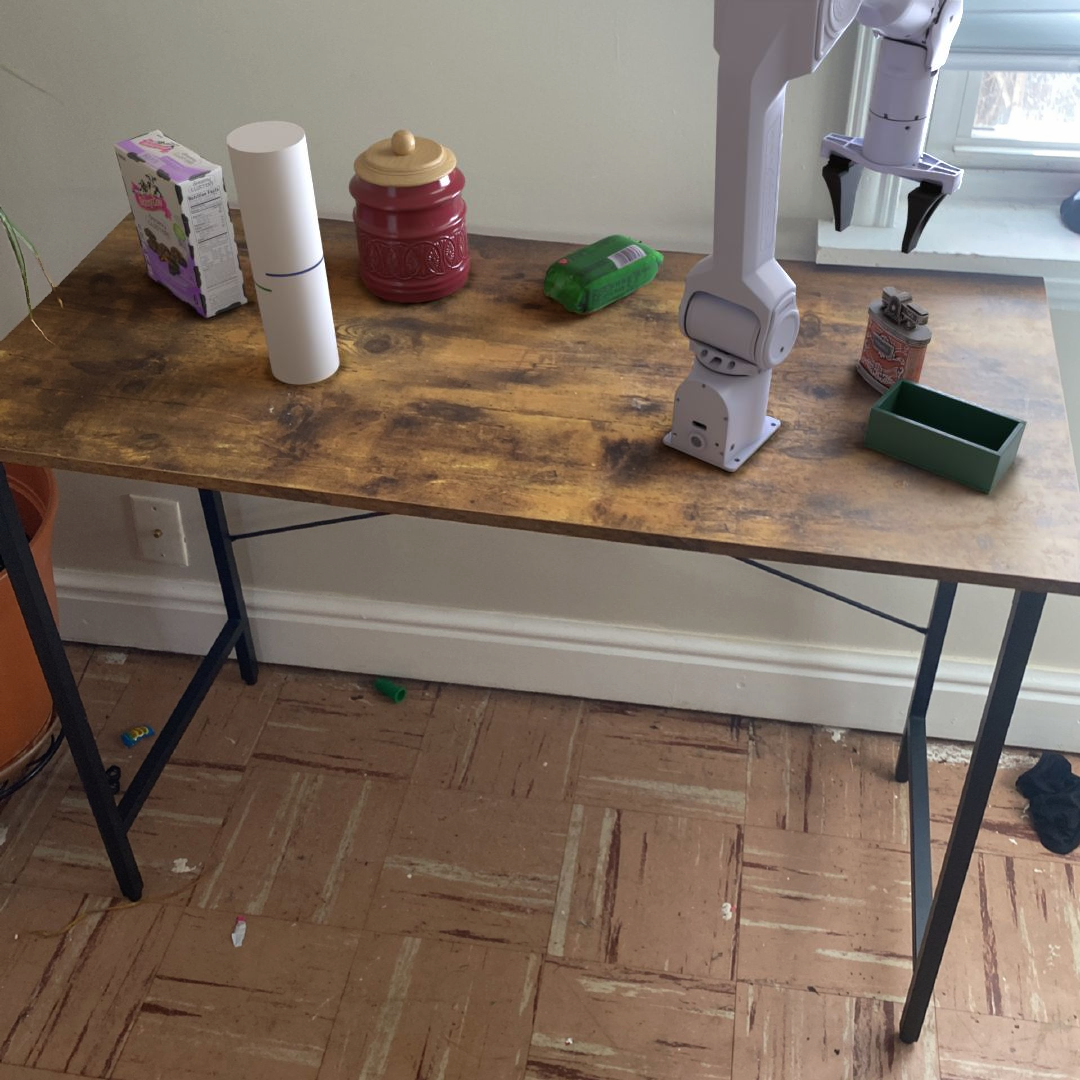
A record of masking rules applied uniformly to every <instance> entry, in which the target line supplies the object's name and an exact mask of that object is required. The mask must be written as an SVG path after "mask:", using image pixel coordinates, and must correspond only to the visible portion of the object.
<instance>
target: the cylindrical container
mask: <svg viewBox="0 0 1080 1080" xmlns="http://www.w3.org/2000/svg"><path fill="white" fill-rule="evenodd" d="M226 146H227V150H228V155H229V160H230V165H231V171H232V176H233V181H234V186H235V192H236V197H237V202H238V206H239V211H240V217H241V222H242V227H243V232H244V238H245V243H246V247H247V248H246V249H247V253H248V258H249V262H250V267H251V273H252V278H253V283H254V287H255V293H256V298H257V303H258V308H259V313H260V318H261V319H260V320H261V323H262V328H263V332H264V333H263V334H264V338H265V343H266V347H267V348H266V349H267V354H268V359H269V363H270V369H271V372H272V375H273V376H274V377H275V379H277V380H278V381H280V382H282V383H285V384H289V385H298V386H299V385H311V384H316V383H318V382H322V381H324V380H326V379H328V378H330V377H331V376H333V375H334V374H335V373H336V372H337V371H338V369H339V367H340V357H339V350H338V345H337V344H338V343H337V337H336V331H335V325H334V324H335V323H334V317H333V312H332V311H333V310H332V304H331V298H330V289H329V284H328V277H327V270H326V264H325V258H324V251H323V244H322V238H321V231H320V230H321V229H320V223H319V217H318V211H317V204H316V198H315V192H314V185H313V178H312V172H311V171H312V170H311V164H310V158H309V151H308V144H307V138H306V131H305V130H304V128H303V127H301V126H300V125H298V124H296V123H294V122H289V121H282V120H264V121H256V122H252V123H247V124H244V125H241V126H240V127H237V128H235V129H234V130H232V131H231V132H229V134H228V135H227V136H226Z"/></svg>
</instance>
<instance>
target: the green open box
mask: <svg viewBox="0 0 1080 1080" xmlns="http://www.w3.org/2000/svg"><path fill="white" fill-rule="evenodd" d="M1027 423H1028V421H1026V420H1023V419H1022V418H1021V419H1020V418H1018V417H1015V416H1012V415H1009V414H1006V413H1004V412H1000V411H998V410H995V409H992V408H989V407H986V406H983V405H982V404H981V405H980V404H978V403H975V402H972V401H969V400H966V399H964V398H961V397H958V396H955V395H952V394H950V393H946V392H943V391H941V390H938V389H935V388H934V387H933V388H932V387H929V386H927V385H923V384H921V383H916V382H913V381H910V380H907V379H904V378H901V377H900V378H899V379H898V380H897V381H896V382H895V383H894V384H893V385H892V386H891V387H890V388H889V389H888V390H887V391H886V393H885V394H884V395H883V394H882V395H881V396H880V398H879V399H878V400H877V401H876V402H875V403H874V404H873V405H872V406H871V407H870V409H869V415H868V418H867V425H866V429H865V434H864V438H863V444H862V446H863V447H865V448H867V449H870V450H873V451H876V452H878V453H881V454H883V455H885V456H889V457H890V458H893V459H896V460H898V461H900V462H901V461H902V462H903V463H907V464H909V465H912V466H914V467H917V468H919V469H922V470H925V471H927V472H930V473H932V474H935V475H938V476H940V477H943V478H945V479H948V480H950V481H953V482H955V483H958V484H960V485H963V486H966V487H969V488H971V489H974V490H976V491H979V492H982V493H984V494H986V495H990V494H991V492H992V491H993V489H994V488H995V487H996V486H997V484H998V483H999V482H1000V480H1001V479H1002V477H1003V476H1004V475H1005V474H1006V472H1007V470H1009V468H1010V466H1011V465H1013V463H1014V461H1015V460H1016V457H1017V454H1018V450H1019V448H1020V445H1021V441H1022V438H1023V436H1024V432H1025V429H1026V426H1027Z"/></svg>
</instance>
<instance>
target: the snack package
mask: <svg viewBox="0 0 1080 1080" xmlns="http://www.w3.org/2000/svg"><path fill="white" fill-rule="evenodd" d="M664 258H665V257H664V255H663V254H662V253H661V252H659V251H657V250H655V249H653V248H652V247H650V246H648V245H645V244H643V243H642V240H639V241H637V240H636V239H633V238H631V237H628V236H625V235H622V234H613V235H609V236H606V237H604V238H602V239H599V240H597V241H595V242H593V243H590V244H588V245H586V246H584V247H581V248H578V249H577V250H575V251H573V252H571V253H568V254H567V255H564V256H563V257H560V258H559V259H557V260H556V261H554V262H552V263H551V265H550V266H549V267H548V269H547V270H546V273H545V276H544V277H545V278H544V280H543V289H542V290H543V293H544V295H545V296H546V297H548V298H549V299H553V300H555V301H556V302H558V303H559V304H561V305H563V306H564V307H565V310H566V311H568V312H571V313H572V312H574V313H576V314H578V315H583V316H585V315H586V316H587V315H591V314H594V313H596V312H598V311H600V310H601V309H603V308H605V307H607V306H608V305H610V304H613V303H614V302H616V301H618V300H620V299H623V298H625V297H626V296H629V295H631V294H632V293H634V292H636V291H638V290H640V289H642V288H643V287H645V286H646V285H648V284H649V283H650V282H652V281H653V279H655V277H656V276H657V273H658V272H659V269H660V268H661V266H662V264H663V262H664Z"/></svg>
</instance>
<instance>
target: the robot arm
mask: <svg viewBox="0 0 1080 1080" xmlns="http://www.w3.org/2000/svg"><path fill="white" fill-rule="evenodd" d="M963 4H964V0H713V36H712V37H713V42H712V44H713V45H712V46H713V49H714V50H715V52H716V53H717V54H718V56H719V59H718V67H717V83H716V85H717V86H716V94H717V95H716V120H715V121H716V127H715V162H714V163H715V167H714V202H713V203H714V205H713V206H714V207H713V239H712V240H713V242H712V245H713V246H712V253H711V254H709V255H707V256H704V257H703V258H702V259H701V260H699V261H698V262H697V263H695V265H693V267H692V268H691V269H690V271H689V272H688V273H687V275H686V276H685V278H684V290H683V295H682V298H681V300H680V304H679V308H678V315H677V320H678V326H679V327H678V328H679V331H680V333H681V335H682V336H684V337H685V338H686V339H687V338H688V339H689V342H688V344H689V345H688V350H689V351H690V352H692V353H694V360H693V364H692V367H691V370H690V371H689V373H688V375H687V376H686V378H685V379H684V380H683V381H682V382H681V383H680V384H679V385H678V387H677V388H676V390H675V392H674V397H673V411H672V425H671V430H670V432H669V433H667V434H666V435H665V436H663V439H662V443H663V444H664V445H665V446H668V447H670V448H673V449H675V450H676V451H677V450H678V451H680V452H682V453H685V454H687V455H689V456H691V457H694V458H696V459H699V460H701V461H704V462H706V463H708V464H710V465H713V466H716V467H717V468H719V469H722V470H724V471H727V472H731V473H734V472H736V471H737V470H738V469H739V468H740V467H741V466H742V465H743V464H744V463H745V462H746V461H747V460H748V459H749V458H750V457H751V456H752V455H754V454H755V452H756V451H757V450H758V449H759V448H760V447H761V446H762V445H763V444H764V443H765V442H766V441H767V440H768V439H769V438H770V437H771V436H772V435H774V433H776V431H778V429H779V428H780V427H781V424H782V422H781V421H780V420H779V419H777V418H774V417H771V416H769V415H767V409H768V402H769V396H770V395H769V394H770V387H771V380H772V373H773V369H774V368H775V367H777V366H779V365H780V364H782V362H784V361H785V360H786V358H787V357H788V356H789V354H790V353H791V351H792V349H793V347H794V346H795V343H796V341H797V339H798V334H799V330H800V325H801V318H800V312H799V309H798V306H797V300H796V299H797V297H796V293H797V286H796V284H795V282H794V281H793V280H792V279H791V278H790V276H789V275H788V274H787V273H786V271H785V270H784V269H783V267H782V266H781V265H780V264H779V263H778V261H777V260H776V258H775V250H776V249H775V248H776V235H777V219H778V208H779V207H778V205H779V193H780V191H779V190H780V175H781V163H782V149H783V148H782V147H783V133H784V117H785V105H786V104H785V103H786V89H787V85H788V84H789V82H790V81H792V80H796V79H799V78H803V77H806V76H808V75H811V74H813V73H814V72H815V71H816V69H817V68H818V67H819V65H820V64H821V62H822V61H823V60H824V59H825V57H826V56H827V55H828V54H829V52H830V51H831V49H832V48H833V47H834V46H835V44H836V43H837V41H838V40H839V39H840V37H841V36H842V35H843V34H844V32H845V31H846V30H847V28H848V27H849V26H850V25H851V23H852V22H853V21H854V19H855V20H856V21H857V22H858V24H860V25H862V26H864V27H866V28H869V29H870V30H872V34H873V36H874V37H875V39H879V38H882V39H881V40H880V45H879V50H878V55H877V61H876V62H877V63H876V67H875V74H874V80H873V85H872V91H871V97H870V102H869V108H868V113H867V120H866V125H865V130H864V137H859V136H851V135H844V134H839V133H834V132H830V133H829V134H827V135H826V136H824V137H823V138H821V143H820V150H819V158H824V159H826V160H827V163H826V164H825V165H824V166H823V167H822V170H821V176H822V178H823V180H824V182H825V185H826V187H827V190H828V193H829V196H830V200H831V204H832V210H833V219H834V220H833V221H834V231H836V232H838V233H842V232H843V231H845V230H846V229H847V228H848V227H850V226H851V224H852V223H851V222H852V220H853V215H854V209H855V203H856V196H857V191H858V189H859V185H860V180H861V177H862V174H863V171H864V168H866V169H868V170H870V171H872V172H876V173H879V174H885V175H891V176H895V177H898V178H902V179H905V180H909V181H912V182H914V183H915V182H916V183H918V184H919V186H916V187H915V188H914V189H913V190H911V191H910V192H908V193H907V214H906V224H905V229H904V233H903V238H902V241H901V247H900V253H902V254H905V255H908V254H910V253H911V252H912V251H913V250H915V249H916V248H917V246H918V243H919V240H920V238H921V236H922V234H923V232H924V231H925V228H926V226H927V224H928V222H929V221H930V219H931V217H932V216H933V215H934V213H935V211H936V210H937V209H938V207H939V206H940V204H941V203H942V202H943V200H945V198H946V197H947V196H948V195H949V196H952V195H953V194H955V193H957V191H958V190H959V189H960V188H961V184H962V181H963V175H964V171H965V170H964V169H962V168H959V167H957V166H953V165H951V164H949V163H947V162H944V161H943V160H940V159H939V158H936V157H934V156H932V155H931V154H929V153H926V152H925V151H923V147H924V143H925V138H926V133H927V130H928V123H929V119H930V114H931V110H932V104H933V100H934V94H935V90H936V87H937V86H936V85H937V81H938V76H939V72H940V67H941V66H943V65H945V63H946V61H947V58H948V56H949V51H950V48H951V43H952V42H953V38H954V36H955V34H956V32H957V30H958V28H959V25H960V22H961V18H962V16H963V11H964V8H963V6H964V5H963Z"/></svg>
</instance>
